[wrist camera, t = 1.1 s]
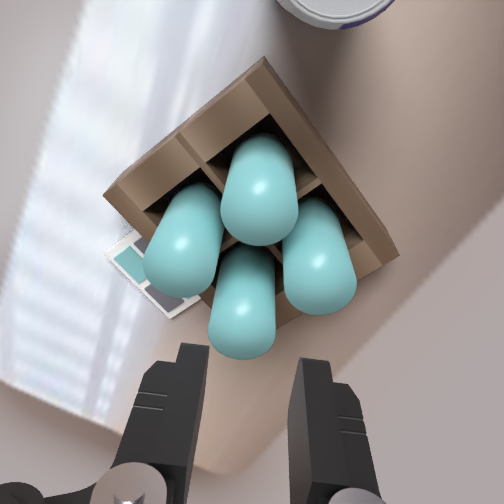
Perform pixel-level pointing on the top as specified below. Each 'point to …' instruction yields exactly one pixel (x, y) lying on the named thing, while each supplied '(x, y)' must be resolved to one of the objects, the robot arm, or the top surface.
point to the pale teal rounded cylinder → (186, 242)
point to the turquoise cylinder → (317, 260)
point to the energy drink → (335, 11)
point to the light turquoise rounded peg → (244, 303)
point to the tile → (131, 264)
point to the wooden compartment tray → (217, 168)
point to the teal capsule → (260, 191)
